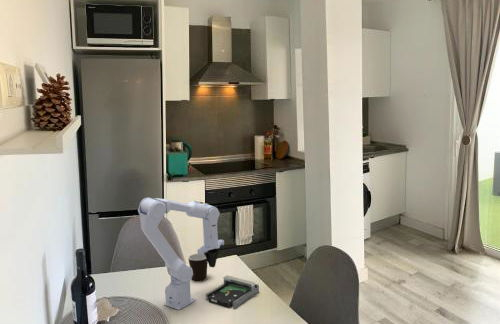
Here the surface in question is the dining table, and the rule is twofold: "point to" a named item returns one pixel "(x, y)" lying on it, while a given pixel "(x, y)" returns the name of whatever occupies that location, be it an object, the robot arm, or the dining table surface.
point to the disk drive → (227, 295)
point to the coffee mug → (198, 267)
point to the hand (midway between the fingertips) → (212, 266)
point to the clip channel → (239, 282)
